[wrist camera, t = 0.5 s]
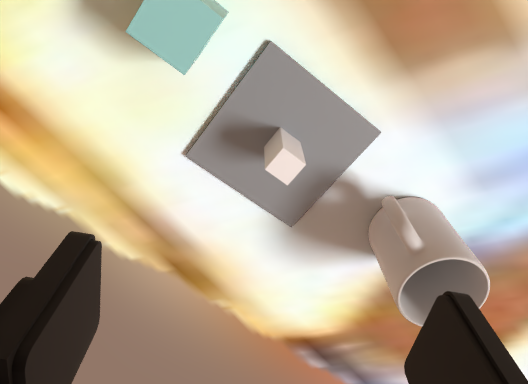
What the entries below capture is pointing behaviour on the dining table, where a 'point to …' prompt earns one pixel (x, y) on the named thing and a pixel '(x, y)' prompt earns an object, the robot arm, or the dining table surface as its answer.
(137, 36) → the teal rectangular block
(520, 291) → the dining table surface
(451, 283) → the mug
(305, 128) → the grey plate with knob
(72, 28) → the dining table surface
